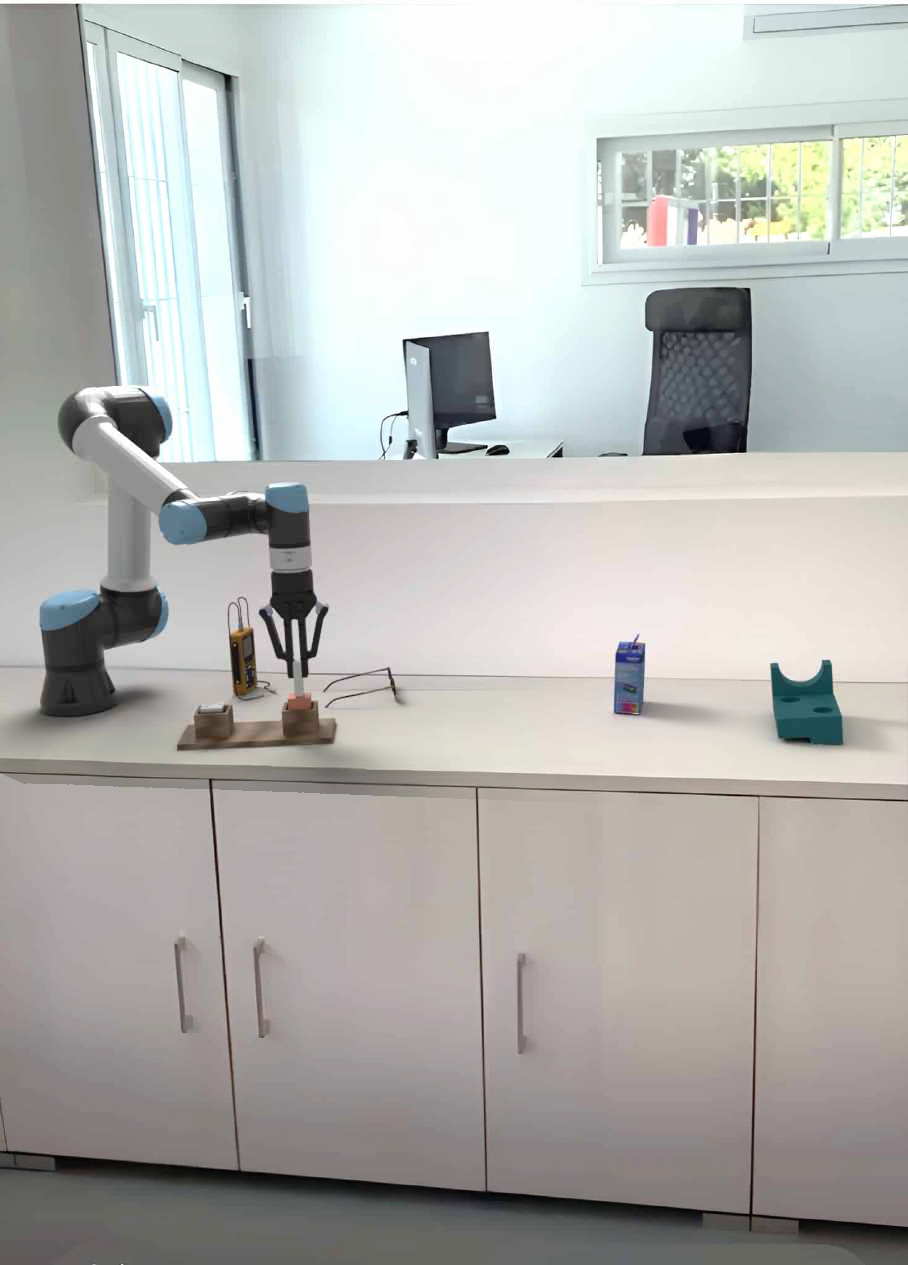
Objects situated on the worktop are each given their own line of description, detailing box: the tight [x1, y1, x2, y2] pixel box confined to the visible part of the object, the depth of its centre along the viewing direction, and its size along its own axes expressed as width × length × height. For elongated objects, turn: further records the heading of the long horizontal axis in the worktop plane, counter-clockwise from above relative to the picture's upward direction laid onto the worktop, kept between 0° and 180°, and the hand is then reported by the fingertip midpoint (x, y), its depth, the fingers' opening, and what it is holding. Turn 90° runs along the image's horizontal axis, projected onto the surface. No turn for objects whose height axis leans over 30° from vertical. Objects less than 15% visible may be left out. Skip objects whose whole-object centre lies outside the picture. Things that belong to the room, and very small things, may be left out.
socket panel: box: [176, 699, 336, 751], centre depth 216 cm, size 28×12×6 cm, turn 93°
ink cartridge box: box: [613, 633, 646, 714], centre depth 225 cm, size 10×6×14 cm, turn 167°
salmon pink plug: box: [287, 691, 312, 710], centre depth 215 cm, size 4×4×5 cm
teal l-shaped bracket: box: [769, 659, 844, 745], centre depth 210 cm, size 18×11×10 cm, turn 168°
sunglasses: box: [322, 666, 397, 709], centre depth 239 cm, size 14×15×5 cm
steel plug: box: [200, 701, 226, 714], centre depth 215 cm, size 4×4×5 cm
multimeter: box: [227, 596, 280, 701], centre depth 244 cm, size 15×10×20 cm
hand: (299, 694), depth 215 cm, fingers closed
